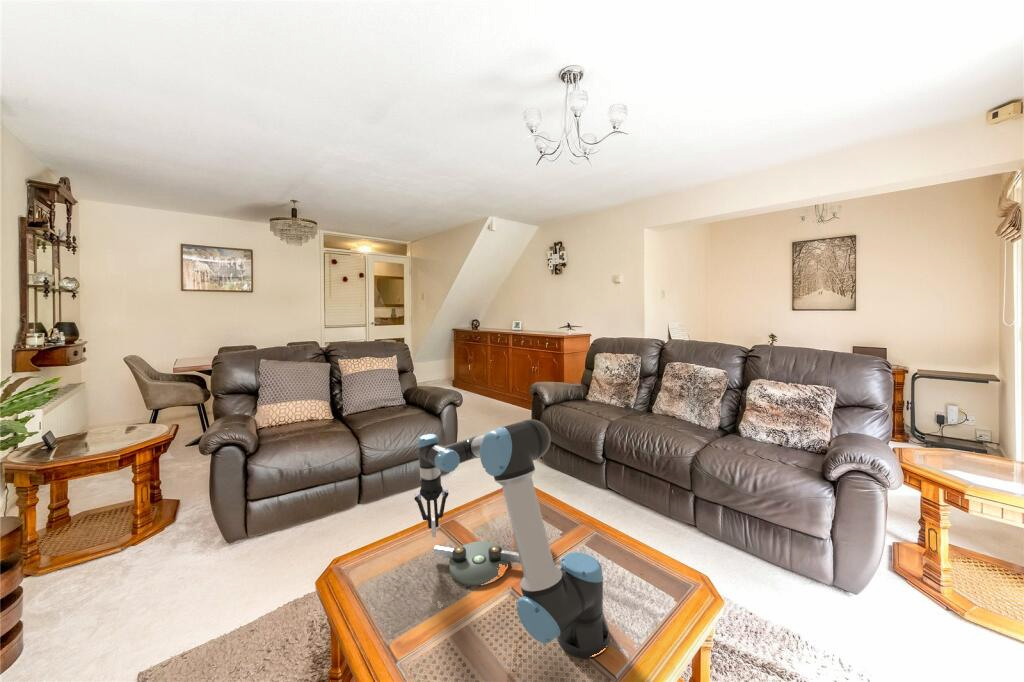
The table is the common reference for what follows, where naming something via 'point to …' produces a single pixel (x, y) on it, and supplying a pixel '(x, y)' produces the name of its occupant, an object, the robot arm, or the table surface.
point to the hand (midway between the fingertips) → (434, 535)
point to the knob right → (502, 555)
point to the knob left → (451, 553)
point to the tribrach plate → (476, 564)
